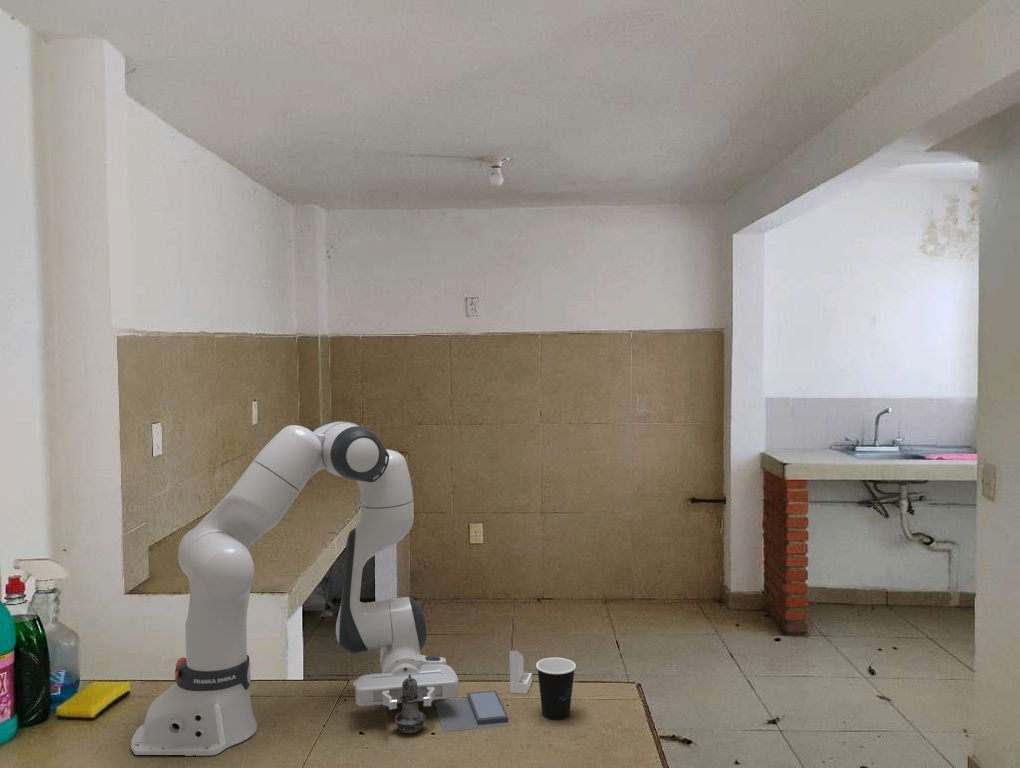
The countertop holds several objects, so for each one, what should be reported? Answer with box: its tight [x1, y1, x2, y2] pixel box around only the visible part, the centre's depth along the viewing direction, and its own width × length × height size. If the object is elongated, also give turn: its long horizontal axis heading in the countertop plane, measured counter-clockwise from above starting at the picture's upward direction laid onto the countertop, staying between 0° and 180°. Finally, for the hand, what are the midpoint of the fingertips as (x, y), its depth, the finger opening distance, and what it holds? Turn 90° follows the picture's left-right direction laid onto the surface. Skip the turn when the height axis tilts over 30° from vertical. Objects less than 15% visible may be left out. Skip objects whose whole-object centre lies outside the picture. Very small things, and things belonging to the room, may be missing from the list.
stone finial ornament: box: [394, 674, 426, 734], centre depth 162 cm, size 6×6×12 cm
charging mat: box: [433, 697, 511, 733], centre depth 170 cm, size 13×14×1 cm
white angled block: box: [509, 650, 533, 695], centre depth 181 cm, size 4×10×9 cm, turn 169°
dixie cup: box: [535, 657, 577, 721], centre depth 169 cm, size 8×8×11 cm
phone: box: [466, 690, 509, 725], centre depth 172 cm, size 6×13×1 cm, turn 12°
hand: (410, 704), depth 161 cm, fingers open, 5 cm apart
